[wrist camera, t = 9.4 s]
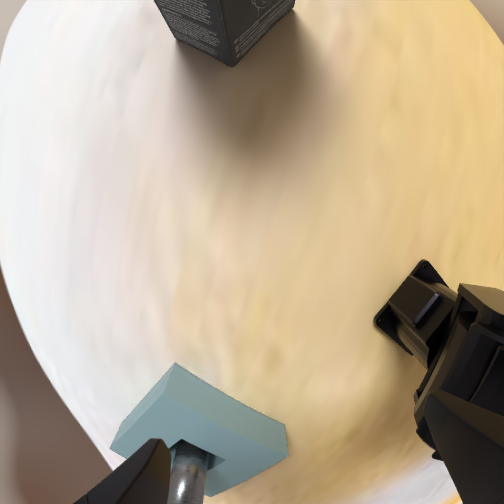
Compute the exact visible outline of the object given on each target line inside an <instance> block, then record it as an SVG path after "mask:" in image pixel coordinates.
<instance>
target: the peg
mask: <svg viewBox="0 0 504 504" xmlns="http://www.w3.org/2000/svg"><path fill="white" fill-rule="evenodd" d="M209 453H210V452H208V451H205V450H203V449H201V448H199V447H197V446H195V445H193V444H191V443H189V442H187V441H185V440H183V439H180V440H179V441H178V444H177V448H176V452H175V456H174V460H173V464H172V468H171V473H170V488H169V496H168V501H167V504H203V498H204V490H205V483H206V475H207V468H208V460H209Z"/></svg>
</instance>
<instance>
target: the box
mask: <svg viewBox="0 0 504 504" xmlns="http://www.w3.org/2000/svg"><path fill="white" fill-rule="evenodd" d="M154 2H155V3H156V5H157V7H158V9H159V10H160V12H161V14H162V16H163V18H164V19H165V21H166V23H167V25H168V27H169V28H170V30H171V32H172V34H173V35H174V37H175V38H176V39H178V40H180V41H182V42H184V43H187V44H189V45H191V46H193V47H195V48H197V49H199V50H201V51H203V52H205V53H206V54H208V55H210V56H212V57H214V58H216V59H218V60H219V61H221V62H223V63H225V64H227V65H228V66H231V67H233V66H235V65H236V64H237V63H238V62H239V60H240V59H241V58H242V57H243V56H244V55H245V54H246V53H247V52H248V51H249V50H250V49H251V48H252V47H253V46H254V45H255V44H256V43H257V42H258V41H259V40H260V38H261V37H263V36H264V34H265V33H266V32H268V31H269V30H270V29H271V28H272V27H273V26H274V25H275V24H276V23H277V22H278V21H279V20H280V19H281V18H282V17H283V16H284V15H286V14H287V13H288V12H289V11H290V10H291V9H292V8H293V7H294V4H295V0H154Z"/></svg>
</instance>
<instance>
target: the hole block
mask: <svg viewBox="0 0 504 504" xmlns="http://www.w3.org/2000/svg"><path fill="white" fill-rule="evenodd" d="M150 438H161V439H163V440H164V442H165V444H166V445H167V447H168V448H169V450H170V452H171V456H172V459H171V468H172V464H173V460H174V456H175V452H176V448H177V444H178V441H179V440H180V439H183V440H185V441H187V442H189V443H191V444H193V445H195V446H197V447H199V448H201V449H203V450H205V451H208V452H210V453H209V460H208V468H207V475H206V483H205V490H204V495H206V496H209V497H212V496H214V495H216V494H219V493H221V492H223V491H225V490H227V489H229V488H232V487H234V486H236V485H238V484H240V483H242V482H244V481H246V480H247V479H249V478H251V477H253V476H255V475H257V474H259V473H260V472H262V471H264V470H266V469H267V468H269V467H271V466H273V465H274V464H276V463H278V462H279V461H281V460H283V459H284V458H286V457H287V456H289V455H288V447H287V440H286V432H285V425H284V424H282V423H280V422H278V421H276V420H273V419H271V418H269V417H267V416H265V415H263V414H261V413H259V412H258V411H256V410H254V409H252V408H250V407H248V406H246V405H244V404H242V403H241V402H239V401H237V400H235V399H233V398H232V397H230V396H228V395H226V394H225V393H223V392H221V391H219V390H218V389H216V388H214V387H213V386H211V385H209V384H208V383H206V382H205V381H203V380H201V379H200V378H198V377H197V376H195V375H193V374H192V373H190V372H189V371H187V370H186V369H184V368H183V367H181V366H180V365H178V364H177V363H174V364H173V365H172V367H171V368H170V369H169V370H168V371H167V372H166V374H165V375H164V376H163V377H162V378H161V379H160V380H159V382H158V383H157V384H156V385H155V386H154V387H153V388H152V389H151V391H150V392H149V393H148V394H147V395H146V396H145V397H144V399H143V400H142V401H141V402H140V403H139V404H138V405H137V406H136V408H135V409H134V410H133V411H132V412H131V413H130V414H129V415H128V417H127V418H126V419H125V420H124V421H123V422H122V423H121V425H120V427H119V430H118V432H117V434H116V436H115V438H114V440H113V442H112V444H111V446H110V448H109V449H111V450H112V451H114V452H116V453H117V454H119V455H121V456H122V457H124V458H126V459H128V458H129V457H130V456H131V455H132V454H133V453H134V452H135V451H137V450H138V449H139V448H140V447H141V446H142V445H143V444H144V443H145V442H146V441H148V440H149V439H150Z"/></svg>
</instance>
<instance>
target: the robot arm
mask: <svg viewBox="0 0 504 504" xmlns="http://www.w3.org/2000/svg"><path fill="white" fill-rule="evenodd" d="M424 264H425V267H424V268H423V265H424ZM380 318H382V320H381V321H379V319H380ZM374 322H375V324H376V325H377V326H378V327H379V328H381V329H382V330H383V331H384V332H385V333H386V334H388V335H389V336H390V337H391V338H392V339H393V340H394V341H396V342H397V343H398V344H399V345H400V346H401V347H402V348H404V349H405V350H406V351H407V352H408V353H409V354H410V355H412V356H413V355H414V356H415V357H416V358H417V359H418V360H419V361H420V362H421V363H422V365H423V366H424V367H425V368H426V369H427V370H428V371H427V373H426V375H425V377H424V379H423V381H422V383H421V385H420V387H419V389H417V390H416V392H415V394H414V401H415V409H414V417H415V420H416V423H417V426H418V428H417V429H416V432H417V434H418V436H419V437H420V438H421V439H422V441H423V442H424V443H426V444H427V445H428V446H429V447H430V448H432V449H434V450H435V452H434V453H433V454H432V458H433V459H437V460H441V461H444V463H445V465H446V467H447V469H448V472H449V474H450V476H451V478H452V480H453V482H454V484H455V486H456V489H457V491H458V493H459V495H460V497H461V500H462V502H463V504H504V291H502V290H499V289H497V288H490V287H483V286H477V285H470V284H463V283H460V284H459V288H458V293H456V292H454V291H453V290H451V289H450V288H449V287H448V286H447V284H446V283H445V282H444V280H443V279H442V278H441V277H440V275H439V274H438V273H437V271H436V270H435V269H434V268H433V266H432V265H431V264H430V263H429V262H428V261H427V260H424V259H423V260H421V261H420V262H419V263H418V265H417V266H416V267H415V268H414V270H413V271H412V272H411V274H410V275H409V276H408V277H407V278H406V279H405V281H404V282H403V283H402V284H401V286H400V287H399V288H398V289H397V291H396V292H395V293H394V294H393V295H392V297H391V298H390V299H389V301H388V302H387V303H386V304H385V305H384V307H383V308H382V309H381V310H380V311H379V312H378V313H377V315H376V316H375V317H374ZM171 459H172V456H171V452H170V450H169V448H168V447H167V445H166V444H165V442H164V440H163V439H161V438H150V439H149V440H148V441H146V442H145V443H144V444H143V445H142V446H141V447H140V448H139V449H138V450H137V451H135V452H134V453H133V454H132V455H131V456H130V457H129V458H128V459H127V460H125V461H124V462H123V463H122V464H121V465H120V466H119V467H117V468H116V469H115V470H114V471H113V472H112V473H110V474H109V475H108V476H107V477H106V478H105V479H103V480H102V481H101V482H100V483H99V484H97V485H96V486H95V487H94V488H92V489H91V490H90V491H89V492H88V493H87V494H85V495H84V496H83V497H81V498H80V499H79V500H77V501H76V502H75V503H73V504H167V501H168V496H169V488H170V473H171Z"/></svg>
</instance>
